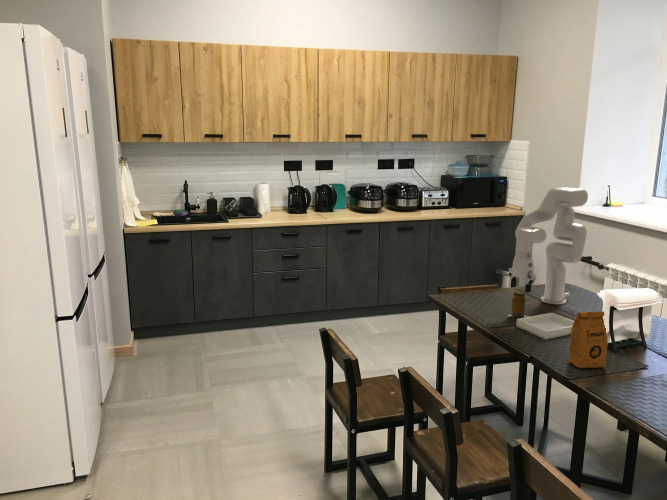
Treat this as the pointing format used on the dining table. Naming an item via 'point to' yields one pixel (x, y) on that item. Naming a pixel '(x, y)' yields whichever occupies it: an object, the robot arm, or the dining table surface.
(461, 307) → the dining table surface
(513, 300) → the condiment
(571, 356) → the coffee package
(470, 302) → the dining table surface
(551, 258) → the robot arm
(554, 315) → the tray
